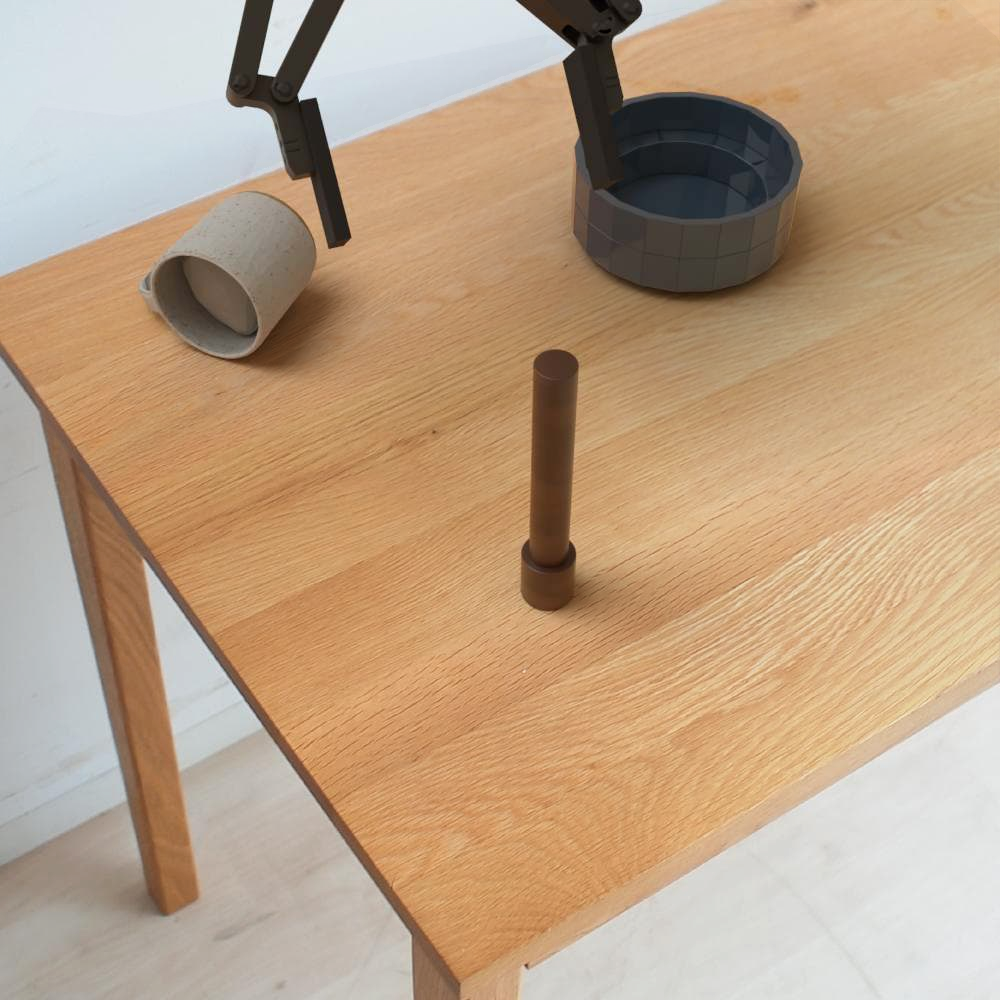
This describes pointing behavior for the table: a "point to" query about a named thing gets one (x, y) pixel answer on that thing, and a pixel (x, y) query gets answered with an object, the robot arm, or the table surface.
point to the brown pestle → (551, 483)
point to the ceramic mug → (232, 274)
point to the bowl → (690, 193)
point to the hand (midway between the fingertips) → (477, 214)
